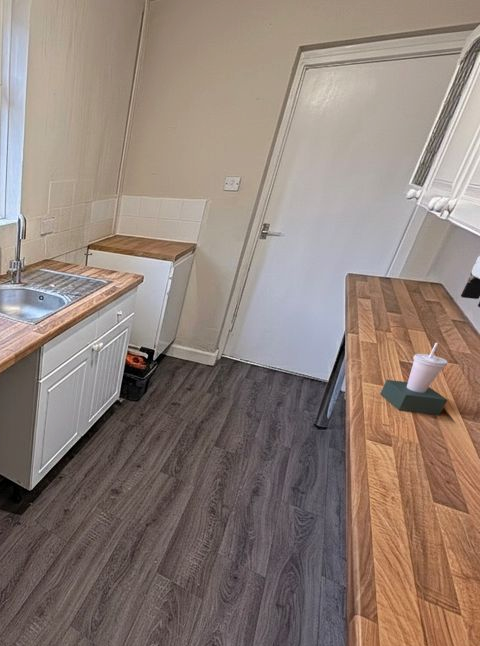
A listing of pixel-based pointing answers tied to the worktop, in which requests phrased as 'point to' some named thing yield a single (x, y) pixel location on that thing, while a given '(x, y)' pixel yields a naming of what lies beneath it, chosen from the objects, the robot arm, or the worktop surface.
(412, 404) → the block
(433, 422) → the worktop surface
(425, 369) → the smoothie
